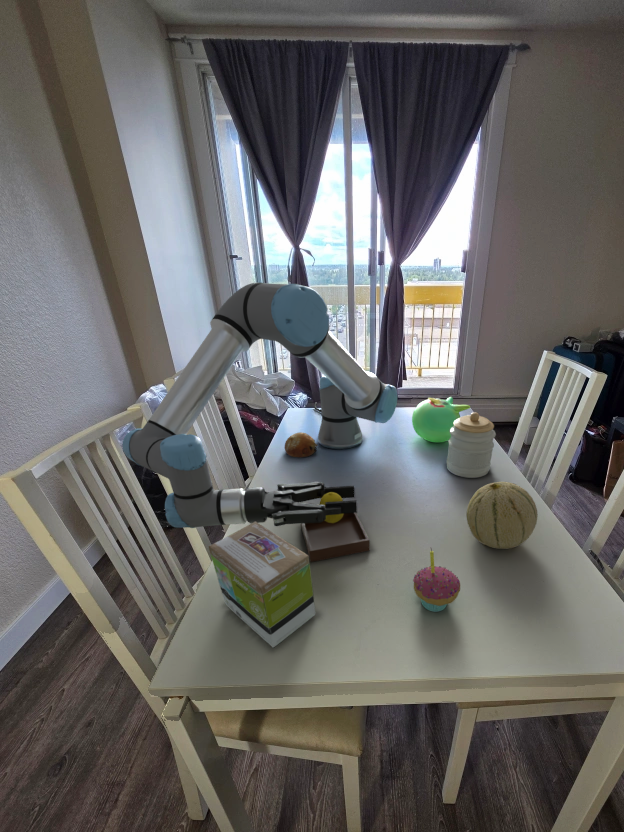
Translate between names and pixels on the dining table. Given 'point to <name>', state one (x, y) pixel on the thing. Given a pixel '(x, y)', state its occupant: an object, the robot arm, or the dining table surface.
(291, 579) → the tea box
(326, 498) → the lemon
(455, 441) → the jar
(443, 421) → the toy bird
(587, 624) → the dining table surface
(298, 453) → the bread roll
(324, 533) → the tray
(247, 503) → the robot arm
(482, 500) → the cantaloupe
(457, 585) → the cupcake
